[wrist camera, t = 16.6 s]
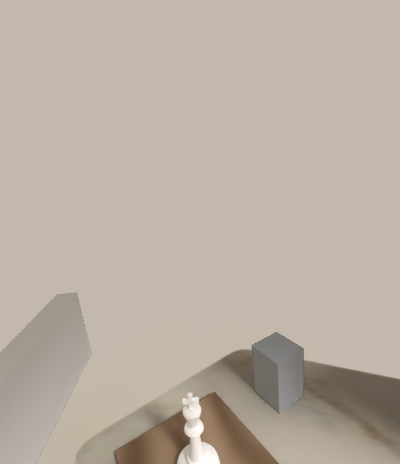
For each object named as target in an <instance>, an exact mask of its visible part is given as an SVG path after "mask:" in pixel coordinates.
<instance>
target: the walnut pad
mask: <svg viewBox="0 0 400 464" xmlns="http://www.w3.org/2000/svg"><path fill="white" fill-rule="evenodd" d="M199 405H200V406H201V415H200V418H199V419H200V420H201V421H202V423H203V425H204V430H203V432H202V434H201V435H200V438H201V442H206V443H208V444H210V445H211V446H212V447H213V448H214V449H215V450H216V452H217V454H218V457H219V460H220V464H279V463H278V462H277V461H276V460H275V459H274V458H273V457H272V456H271V454H270V453H269V452H268V451H267V450H266V449H265V448H264V447H263V445H262V444H261V443H260V442H259V441H258V440H257V439H256V438H255V437H254V435H253V434H252V433H251V432H250V431H249V430H248V429H247V428H246V426H245V425H244V424H243V423H242V422H241V421H240V420H239V419H238V417H237V416H236V415H235V414H234V413H233V412H232V411H231V410H230V408H229V407H228V406H227V405H226V404H225V403H224V402H223V401H222V400H221V398H220V397H219V396H218V395H217V394H216V393H215V392H214V393H212V394H210V395H209V396H207V397H205V398H204V399H202V400H200V401H199ZM186 422H187V420H186V419H185V418H184V416H183V412H180V413H178V414H177V415H175V416H173V417H172V418H170V419H168V420H167V421H165V422H163V423H162V424H160V425H158V426H157V427H155V428H153V429H152V430H150V431H148V432H147V433H145V434H143V435H141V436H140V437H138V438H136V439H135V440H133V441H131V442H130V443H128V444H126V445H125V446H123V447H121V448H120V449H118V450H116V451H115V456H116V459H117V463H118V464H177V461H178V457H179V455H180V453H181V451H182V450H183V449H184V448H185V447H186V446H187V445H189V444H190V437H189V436H187V435H186V434H185V432H184V427H185V424H186Z"/></svg>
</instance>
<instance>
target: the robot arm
mask: <svg viewBox="0 0 400 464" xmlns="http://www.w3.org/2000/svg"><path fill="white" fill-rule="evenodd" d="M91 354H92V352H91V349H90V344H89V340H88V336H87V332H86V328H85V324H84V320H83V316H82V312H81V308H80V303H79V299H78V295H77V293H67V294H58V295H56V296H55V297H54V298H53V299H52V300H51V301H50V302H49V303H48V304H47V305H46V306H45V307H44V308H43V309H42V310H41V312H39V313H38V314H37V316H36V317H35V318H34V319H33V320H32V321H31V322H30V323H29V324H28V325H27V326H26V327H25V328H24V329H23V330H22V331H21V332H20V333H19V334H18V335H17V336H16V337H15V338H14V339H13V340H12V341H11V342H10V343H9V344H8V345H7V346H6V347H5V348H4V349H3V350H2V351H1V352H0V464H36V462H37V460H38V458H39V457H40V455H41V453H42V451H43V449H44V447H45V445H46V443H47V441H48V439H49V437H50V435H51V433H52V431H53V429H54V427H55V425H56V423H57V421H58V419H59V417H60V415H61V413H62V411H63V409H64V407H65V406H66V404H67V401H68V400H69V398H70V396H71V394H72V392H73V389H74V388H75V386H76V384H77V382H78V380H79V378H80V376H81V374H82V372H83V370H84V368H85V366H86V364H87V362H88V360H89V358H90V356H91Z"/></svg>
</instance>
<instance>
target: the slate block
mask: <svg viewBox="0 0 400 464" xmlns="http://www.w3.org/2000/svg"><path fill="white" fill-rule="evenodd" d="M252 356H253V375H254V391H255V392H256V393H258V394H259V395H260V396H261V397H262V398H263V399H264V400H265V401H266V402H267V403H268V404H269V405H270V406H272V407H273V408H274V409H275V410H276V411H277V412H278V413H279V414H280V413H281V412H282V411H284V410H285V409H286V408H288V407H289V406H290V405H292V404H293V403H294V402H296V401H297V400H298V399H300V398H301V397H303V396H304V349H303V348H302V347H300V346H298V345H297V344H295V343H293V342H292V341H290V340H289V339H287V338H285V337H284V336H282V335H281V334H279V333H277V332H276V333H274V334H272V335H270V336H268V337H266V338H264V339H263V340H261V341H259V342H257V343H255V344H253V345H252Z"/></svg>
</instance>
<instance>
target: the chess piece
mask: <svg viewBox="0 0 400 464" xmlns="http://www.w3.org/2000/svg"><path fill="white" fill-rule="evenodd" d="M182 402H183V405H185V406H184V407H183V411H182V412H183V416H184V418H185V419H186V420H187V422H186V424H185V427H184V432H185V434H186V435H187V436H189V437H190V444H189V445H187V446H186V447H185V448H184V449H183V450H182V451H181V453H180V455H179V457H178V461H177V464H220V460H219V457H218V454H217V452H216V450H215V449H214V448H213V447H212V446H211V445H210V444H208V443H206V442H201V438H200V435H201V434H202V432H203V430H204V425H203V423H202V421H201V420H200V419H199V418H200V415H201V406H200V405H199V397H193V395H192V393H188V398H183V401H182Z"/></svg>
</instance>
